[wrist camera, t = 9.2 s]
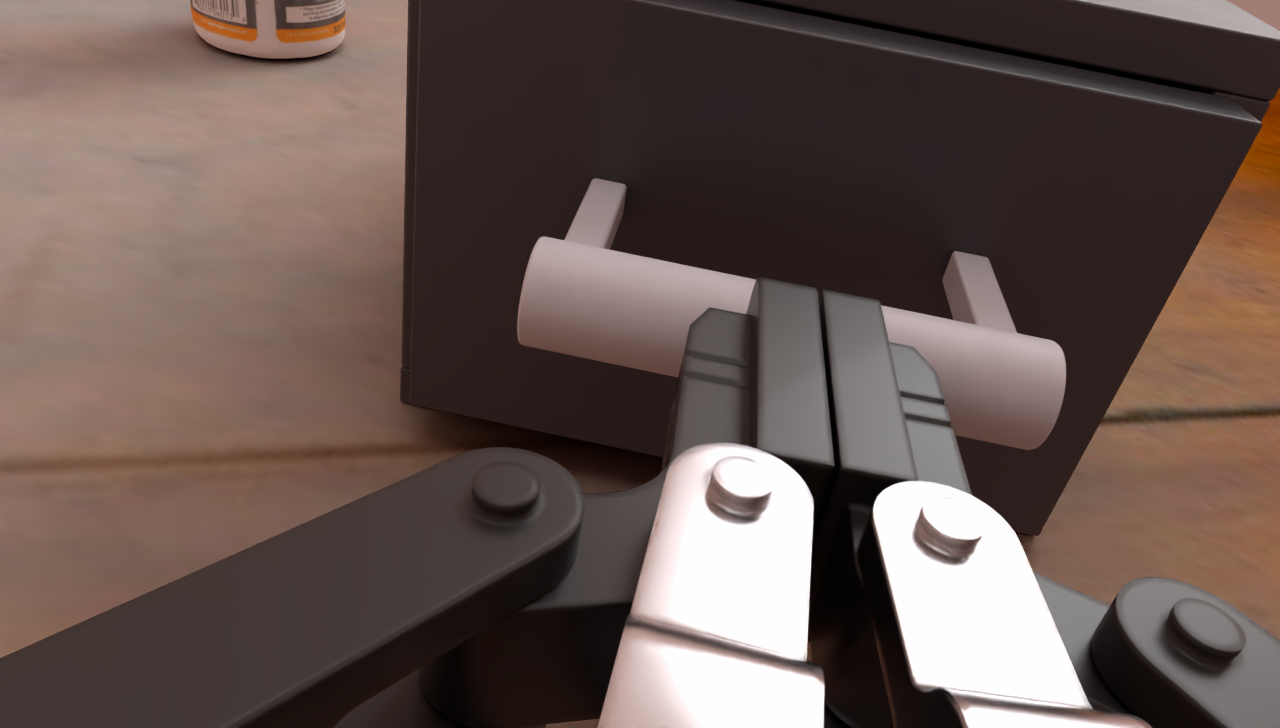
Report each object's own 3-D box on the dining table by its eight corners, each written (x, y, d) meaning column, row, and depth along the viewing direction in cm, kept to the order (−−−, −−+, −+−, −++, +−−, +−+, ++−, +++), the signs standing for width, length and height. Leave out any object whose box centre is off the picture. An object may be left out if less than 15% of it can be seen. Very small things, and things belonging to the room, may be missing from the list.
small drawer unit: (1037, 536, 20) (1305, 44, 14) (399, 401, 20) (408, -132, 14) (939, 223, 33) (1057, -98, 27) (553, 145, 33) (590, -188, 28)
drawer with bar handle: (1098, 725, 15) (1430, 253, 10) (319, 557, 15) (294, 25, 10) (940, 224, 30) (1042, -52, 26) (559, 147, 31) (592, -140, 26)
